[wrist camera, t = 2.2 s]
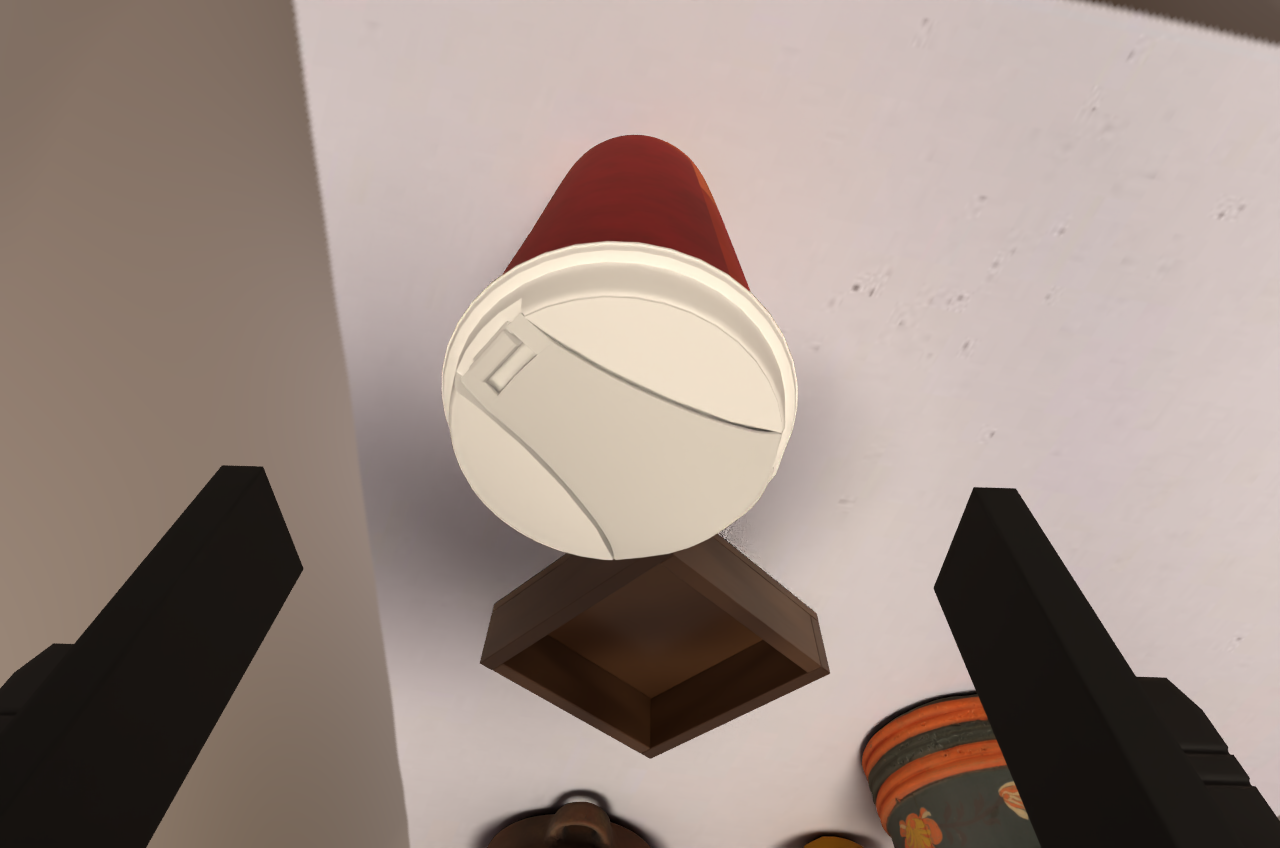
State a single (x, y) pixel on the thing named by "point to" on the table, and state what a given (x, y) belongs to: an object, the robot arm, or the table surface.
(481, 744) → the table surface
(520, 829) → the dish
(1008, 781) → the beer stein
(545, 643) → the square wooden tray
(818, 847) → the apple
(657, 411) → the coffee cup
